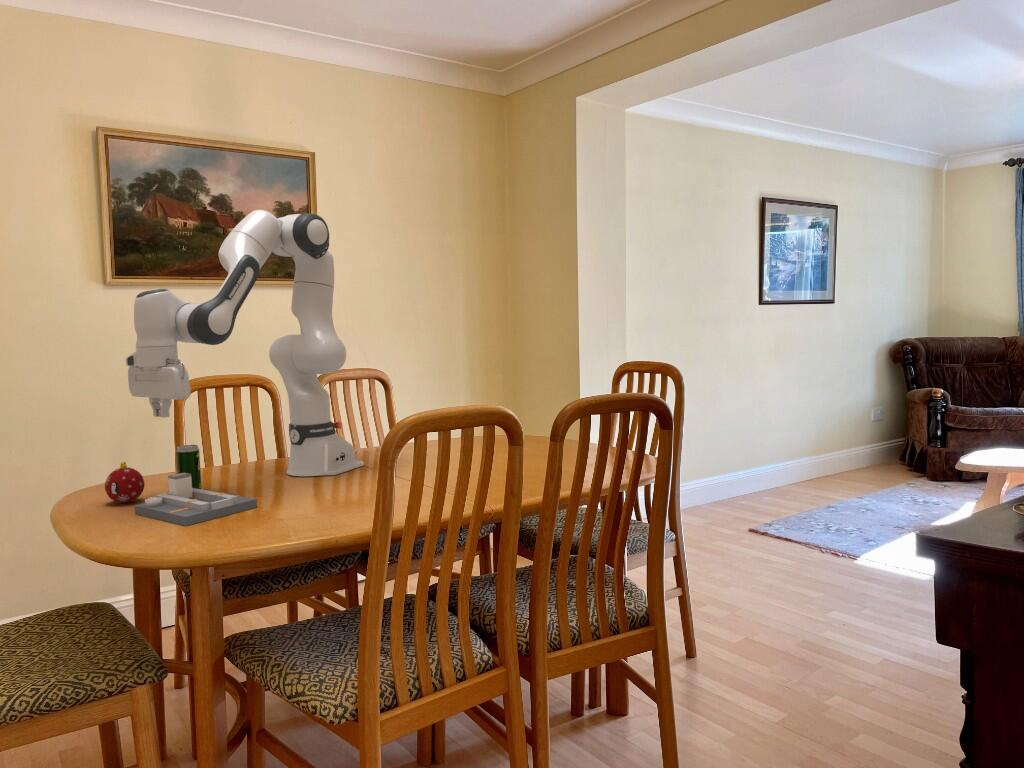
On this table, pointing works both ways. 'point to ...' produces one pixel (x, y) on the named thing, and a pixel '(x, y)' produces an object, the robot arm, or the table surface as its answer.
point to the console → (194, 506)
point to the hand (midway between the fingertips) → (161, 416)
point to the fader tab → (180, 485)
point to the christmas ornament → (124, 484)
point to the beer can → (190, 463)
